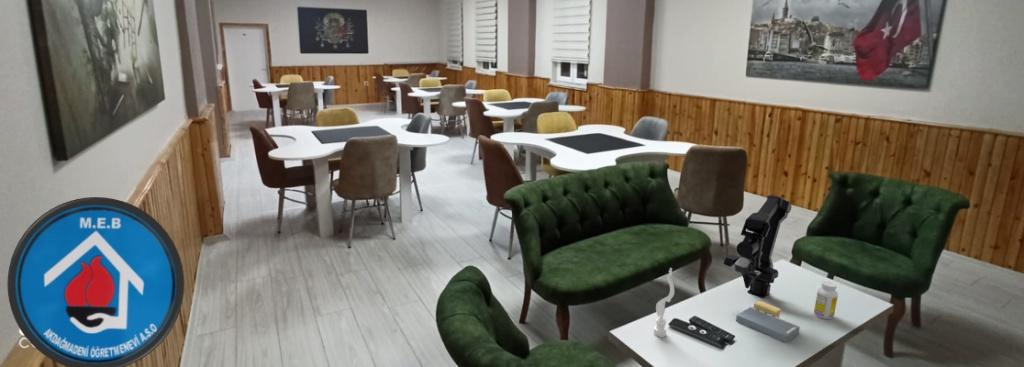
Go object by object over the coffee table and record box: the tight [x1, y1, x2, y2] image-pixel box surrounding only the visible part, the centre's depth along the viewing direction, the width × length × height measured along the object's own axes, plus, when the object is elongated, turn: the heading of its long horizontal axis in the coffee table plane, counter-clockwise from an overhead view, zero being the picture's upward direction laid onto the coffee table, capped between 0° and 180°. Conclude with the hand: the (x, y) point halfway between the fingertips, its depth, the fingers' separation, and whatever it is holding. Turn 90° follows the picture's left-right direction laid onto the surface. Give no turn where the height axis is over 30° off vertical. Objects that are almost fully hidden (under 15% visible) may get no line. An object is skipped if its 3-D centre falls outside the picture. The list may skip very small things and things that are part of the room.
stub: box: [753, 300, 781, 318], centre depth 206 cm, size 8×4×4 cm, turn 40°
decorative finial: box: [653, 267, 675, 338], centre depth 188 cm, size 6×4×25 cm
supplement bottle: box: [813, 280, 839, 320], centre depth 207 cm, size 7×7×13 cm
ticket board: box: [735, 306, 801, 343], centre depth 198 cm, size 18×10×3 cm, turn 40°
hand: (747, 288), depth 210 cm, fingers closed
